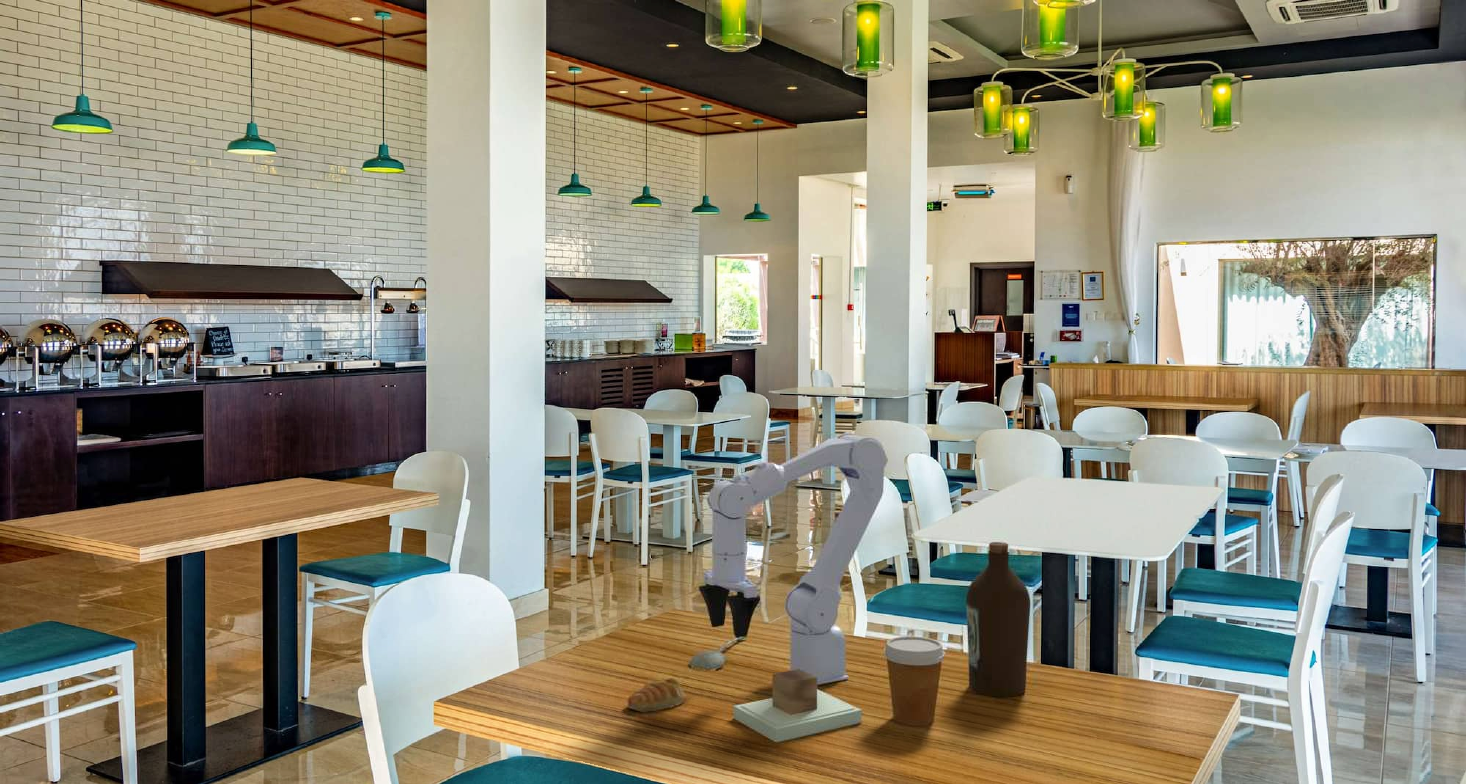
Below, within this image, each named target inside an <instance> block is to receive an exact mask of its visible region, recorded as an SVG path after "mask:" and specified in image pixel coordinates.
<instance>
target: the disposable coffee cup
mask: <svg viewBox="0 0 1466 784" xmlns="http://www.w3.org/2000/svg"><path fill="white" fill-rule="evenodd" d="M883 653H884V654H883V655H884V656H885V658H886V664H887V671H888V682H889V683H888V684H889V689H890V691H889V692H890V698H891V699H890V700H891V706H892V716H893V720H895V722H896V723H900V724H902V725H905V726H916V727H919V726H920V727H921V726H927V725H930V724H933V722H934V721H935V715H936V714H935V713H936V706H937V700H938V693H939V692H938V691H939V684H940V678H941V670H942V661H943V660H944V657H945V656H946V652H945V650H944V649H943V644H942V643H941V642H940V641H939V640H937V639H934V638H933V639H932V638H929V637H925V636H912V635H910V636H906V635H905V636H898V637H893V638H890V639H887V641H886V644H885V647H884V649H883Z"/></svg>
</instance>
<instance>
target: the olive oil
mask: <svg viewBox="0 0 1466 784" xmlns="http://www.w3.org/2000/svg"><path fill="white" fill-rule="evenodd" d="M988 549H989V550H988V554H987V555H988V558H987V559H988V564H987V565H986V567H985V568H984V569H983V570H982V571H981V572H980V573H979V574H978V575H977V576H976V577H975V578H974V579H973V580H972V581H971V583H970V585H969V586H968V589H967V593H966V597H965V598H966V600H965V603H966V605H965V606H966V607H965V608H966V626H967V627H966V628H967V629H966V630H967V655H968V685H969V686H968V687H969V688H970V689H971V690H972V691H973V692H975V693H977V694H980V695H984V696H989V697H997V698H998V697H999V698H1008V697H1009V698H1010V697H1018V696H1021V695H1023V694H1024V693H1025V692H1026V689H1027V684H1026V683H1027V668H1028V667H1027V665H1028V663H1027V661H1028V646H1029V645H1028V643H1029V632H1030V631H1029V629H1030V616H1031V615H1030V613H1031V597H1030V593H1029V590H1028V588H1027V586H1026V585H1025V583H1024V582H1023V581H1022V579H1021V578H1020V577H1019V576H1018V575H1017V574H1016V573H1015V572H1014V571H1013V570H1012V569H1011V567H1010V565H1009V561H1010V560H1009V558H1010V552H1009V543H1007V542H1003V541H1001V542H1000V541H992V542H990V543H989V544H988Z"/></svg>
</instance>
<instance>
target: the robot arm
mask: <svg viewBox="0 0 1466 784" xmlns="http://www.w3.org/2000/svg"><path fill="white" fill-rule="evenodd" d="M888 461H889V458H888V456H887V454H886V452H885V449H884V447H883V445H882V443H881V442H880V441H879V440H878V439H876V438H874V437H870V436H859V435H855V434H853V433H852V434H851V433H847V432H846V433H841V434H839V435H838V436H837V437H832V438H828V439H826V440H825V441H823V442H820V443H819V444H818V445H816V446H814V447H812V448H809V449H807V450H806V451H804V452H802V453H800V454H798V455H797V456H794V457H793V458H791V459H789V460H787V461H785V462H783V463H781V464H776V463H774V462H772V461H771V462H765V461H760V462H757V463H756V467H755V468H754V469H752V470H749V471H747V472H744V473H743V474H738V473H737V474H735V475H733V476H732V481H729V480H721V481H719V482H717V483H715V484H714V485H713V486H712V487H713V488H711V489H710V491H709V493H708V496H707V497H706V502H707V505H708V507H709V508H710V510H711V511H712V526H711V528H712V529H711V535H712V536H711V538H712V539H711V540H712V541H711V543H712V544H711V546H712V551H711V552H712V558H711V560H712V562H711V563H712V566H711V567H712V569H708V570H702V581H703V582H704V583H705V584H704V585H700V586H699V587H698V588H699V589H698V590H699V592H700V594H701V595H702V598H703V600H704V602H705V606H706V608H707V611H708V613H707V614H708V617H709V621H710V624H711V627H713V628H718V627H724V625H725V622H726V614H727V613H726V611H727V603H728V605H729V609H730V613H731V619H732V630H733V635H734V637H735V638H736V637H737V638H738V637H744V636H746V637H747V636H748V633H749V630H750V629H749V628H750V625H751V622H752V618H753V615H754V613H755V610H756V608H757V606H758V605H759V603H760V601H761V596H760V595H759V594H758V585H757V584H755V583H753V582H752V581H751V580H750V579H749V578H748V577H747V570H746V569H747V568H746V567H747V557H746V556H747V554H746V553H747V550H746V549H747V547H746V546H747V544H746V543H747V541H746V540H747V539H746V536H747V530H746V529H747V526H746V523H747V522H746V518H747V516H746V515H747V514H748V513H749V511H750V510H751V508H753V507H755V506H757V505H759V504H761V503H763V502H765V501H768V500H770V499H772V498H774V497H777V496H778V495H780V494H782V493H784V492H785V490H786V488H787V485H788V483H789V482H792V481H795V480H797V479H799V478H802V477H804V476H806V475H809V474H812V473H814V472H817V471H819V470H822V469H824V468H827V467H834V468H838V470H839V471H840V472H841V473H842V475H843V476H844V478H845V480H846V483H847V486H848V487H849V490H850V491H849V494H848V495H847V498H846V500H845V501H844V504H843V506H842V508H841V510H840V511H839V514H838V516H837V518H836V520H835V522H834V523H833V526H832V528H831V530H830V531H829V534H828V536H827V538H826V540H825V543H824V544H823V546H822V548H821V551H820V553H819V555H818V557H817V559H816V560H815V563H814V565H813V567H812V569H811V570H809V571H808V572H806V573H805V574H803V576H801V577H800V579H799V581H798V583H797V585H795V587H793V588H792V589H790V590H789V592H788V593H787V594H786V597H785V600H784V609H785V611H786V613H787V615H788V616H789V618H790V619H791V620H790V625H789V627H790V628H789V629H790V634H789V635H790V639H789V640H790V641H789V642H790V643H789V644H790V647H789V648H790V649H789V650H790V651H789V652H790V653H789V654H790V655H789V656H790V659H789V660H790V661H789V662H790V663H789V664H790V665H789V668H790V669H789V671H791V670H796V669H800V670H802V671H804V672H806V673H808V674H811V675H813V676H815V677H817V686H818V685H825V684H829V683H835V682H838V681H843V680H848V679H849V675H847V672H846V671H847V668H846V667H847V664H846V663H847V661H846V658H847V655H846V653H847V652H846V651H847V648H846V647H847V646H846V645H847V644H846V643H847V642H846V637H845V635H844V632H843V631H842V629H841V628H840V627H839V626H837V625H836V622H837V619H838V614H839V613H838V612H839V605H840V602H841V600H842V598H843V597H842V590H841V586H840V584H841V581H842V579H843V577H844V575H845V573H846V571H847V569H848V567H849V565H850V563H851V562H852V558H853V556H854V554H855V553H856V551H857V549H858V547H859V545H860V542H861V540H862V538H863V536H864V534H865V532H866V530H867V529H868V526H869V524H870V521H871V520H872V518H873V516H874V514H875V512H876V509H877V508H878V505H879V504H880V501H881V500H882V496H883V494H884V485H885V482H884V479H885V478H884V477H885V467H886V466H887V463H888ZM730 591H731V592H734V593H736V594H735V595H733V594H732V595H730Z"/></svg>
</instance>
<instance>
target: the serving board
mask: <svg viewBox="0 0 1466 784" xmlns="http://www.w3.org/2000/svg"><path fill="white" fill-rule="evenodd" d="M862 713H863V710H862V709H861V708H858V707H856V706H854V705H852V704H851V703H850V704H849V703H848V702H846V701H844V700H842V699H839V698H838V697H835V696H833V695H831V694H829V693H826V692H824V691H822V690H821V689H818V688H817V709H815V710H811V711H806V712H802V713H797V714H792V715H790V714H788V713H786V712H784V711H782V710H780V709H778V708H776V707H774V706H772V697H770V698H766V699H762V700H761V699H759V700H757V701H755V700H754V701H751V702H747V703H742V704H737V705H736V704H735V705H734V706H733V719H734V720H736V721H738V722H739V723H741V724H743V725H745V726H747V727H748V728H750V729H751V730H754V732H756V733H759V734H760V735H762V736H764V737H766V738H768V739H769V740H771V741H773V742H775V743H780V742H785V741H788V740H793V739H797V738H802V737H805V736H810V735H815V734H818V733H823V732H827V731H832V730H836V729H840V728H844V727H849V726H852V725H858V724H861V723H863V720H862V718H863V717H862V716H863V714H862Z"/></svg>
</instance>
